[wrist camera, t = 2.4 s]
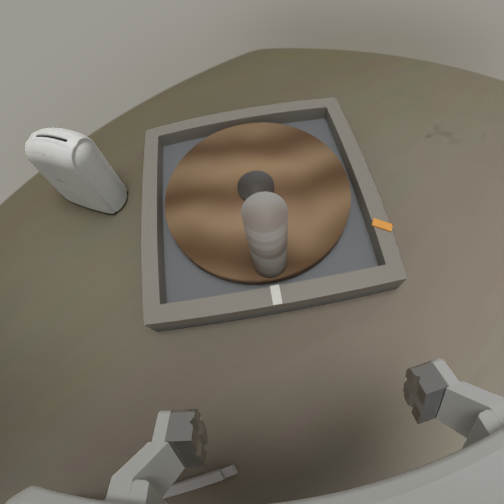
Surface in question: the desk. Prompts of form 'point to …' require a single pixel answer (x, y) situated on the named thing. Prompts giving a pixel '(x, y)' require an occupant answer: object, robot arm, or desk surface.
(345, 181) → the dial
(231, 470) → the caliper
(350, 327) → the desk surface
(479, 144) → the desk surface
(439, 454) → the desk surface
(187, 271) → the dial base
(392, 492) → the robot arm
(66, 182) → the photo printer
